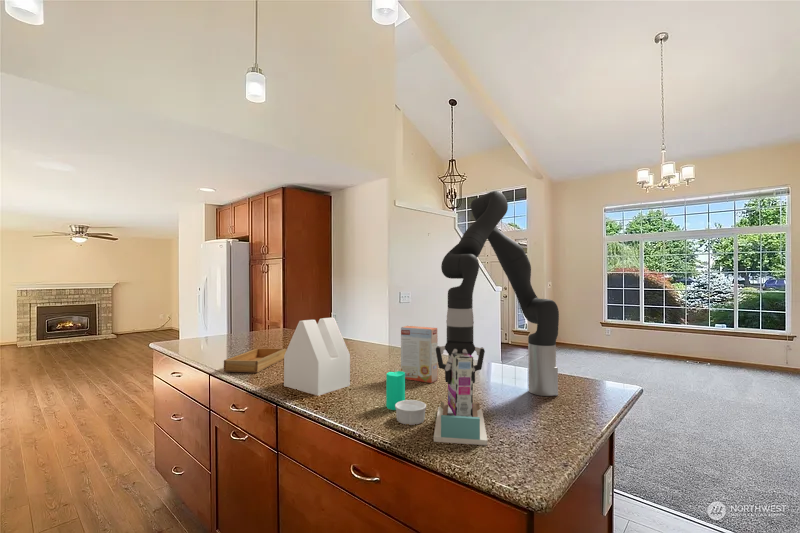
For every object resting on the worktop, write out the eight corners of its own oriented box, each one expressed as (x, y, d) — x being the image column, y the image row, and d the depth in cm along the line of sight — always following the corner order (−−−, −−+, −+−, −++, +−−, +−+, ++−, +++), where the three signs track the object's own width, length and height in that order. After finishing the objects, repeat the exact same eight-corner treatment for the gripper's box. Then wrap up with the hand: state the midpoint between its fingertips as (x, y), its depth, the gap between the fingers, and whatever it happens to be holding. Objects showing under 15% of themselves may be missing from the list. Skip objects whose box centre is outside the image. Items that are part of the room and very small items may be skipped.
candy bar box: (473, 418, 101) (474, 356, 101) (455, 418, 100) (455, 357, 101) (463, 403, 112) (463, 348, 112) (447, 403, 112) (447, 348, 112)
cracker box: (438, 380, 149) (438, 327, 150) (431, 383, 144) (431, 329, 145) (407, 375, 157) (407, 325, 157) (400, 378, 152) (400, 326, 152)
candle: (407, 404, 120) (407, 366, 121) (401, 411, 115) (401, 371, 115) (390, 402, 122) (390, 365, 123) (383, 408, 117) (383, 369, 117)
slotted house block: (349, 385, 142) (350, 319, 142) (318, 396, 129) (318, 323, 130) (315, 377, 153) (316, 316, 154) (283, 386, 141) (284, 319, 142)
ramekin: (430, 424, 105) (430, 408, 105) (400, 427, 102) (400, 411, 102) (420, 413, 113) (420, 398, 113) (391, 416, 111) (391, 401, 111)
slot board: (481, 412, 113) (481, 392, 113) (487, 445, 91) (487, 419, 91) (438, 410, 115) (438, 389, 115) (433, 441, 93) (433, 416, 93)
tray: (256, 358, 191) (257, 347, 191) (285, 359, 190) (285, 347, 190) (223, 373, 160) (223, 360, 160) (257, 374, 159) (257, 361, 159)
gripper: (484, 323, 109) (484, 381, 109) (435, 322, 112) (435, 379, 111) (486, 326, 102) (486, 389, 101) (433, 325, 104) (433, 386, 104)
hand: (459, 383), depth 106 cm, fingers closed on candy bar box, 5 cm apart
